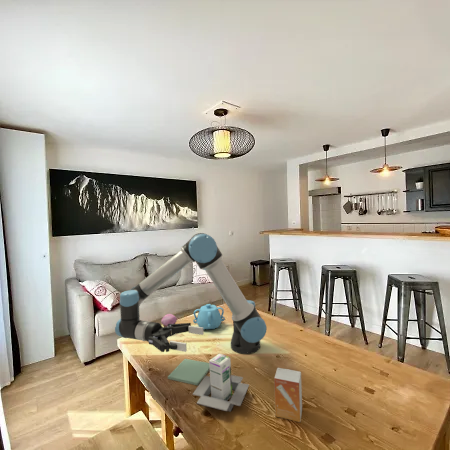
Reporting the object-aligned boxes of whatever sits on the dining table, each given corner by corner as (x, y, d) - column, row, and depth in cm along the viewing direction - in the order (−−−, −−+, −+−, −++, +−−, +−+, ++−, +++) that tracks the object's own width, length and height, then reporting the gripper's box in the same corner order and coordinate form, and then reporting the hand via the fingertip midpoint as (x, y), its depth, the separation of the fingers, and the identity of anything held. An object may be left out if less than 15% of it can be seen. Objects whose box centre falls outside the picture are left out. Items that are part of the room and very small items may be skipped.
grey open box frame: (209, 377, 104) (209, 370, 104) (251, 386, 97) (251, 378, 97) (188, 409, 87) (187, 400, 87) (237, 422, 80) (236, 413, 80)
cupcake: (170, 326, 156) (169, 310, 156) (180, 329, 151) (179, 313, 151) (159, 332, 149) (158, 315, 149) (168, 335, 144) (168, 318, 144)
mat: (185, 360, 117) (185, 358, 117) (212, 365, 112) (212, 363, 112) (167, 378, 104) (167, 376, 104) (197, 385, 99) (197, 383, 99)
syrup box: (223, 405, 88) (221, 364, 88) (210, 398, 92) (208, 359, 91) (232, 395, 93) (231, 357, 92) (220, 389, 96) (218, 352, 96)
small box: (275, 417, 82) (273, 377, 82) (278, 403, 88) (277, 366, 88) (301, 423, 79) (299, 382, 79) (302, 408, 85) (301, 371, 85)
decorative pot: (190, 327, 155) (189, 305, 154) (210, 318, 166) (209, 298, 166) (207, 334, 143) (206, 311, 143) (227, 325, 154) (226, 303, 154)
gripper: (167, 328, 115) (209, 334, 107) (127, 356, 91) (177, 366, 84) (166, 311, 114) (208, 316, 107) (126, 335, 91) (176, 344, 84)
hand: (195, 338), depth 95 cm, fingers open, 13 cm apart
